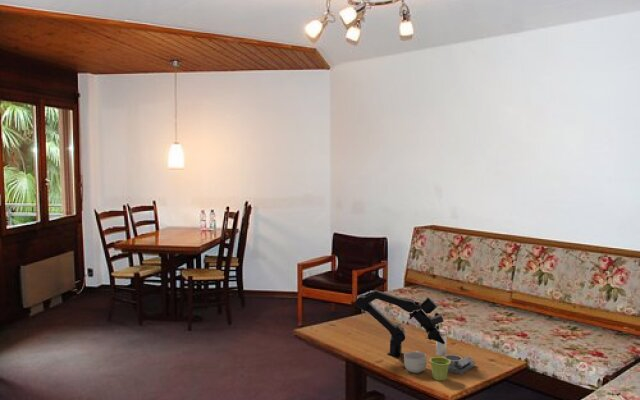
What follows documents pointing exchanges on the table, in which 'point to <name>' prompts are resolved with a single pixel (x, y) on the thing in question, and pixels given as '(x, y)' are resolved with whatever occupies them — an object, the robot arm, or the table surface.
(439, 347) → the white tall cylinder
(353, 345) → the table surface
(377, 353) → the table surface
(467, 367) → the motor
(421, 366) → the teacup
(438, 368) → the plant pot
